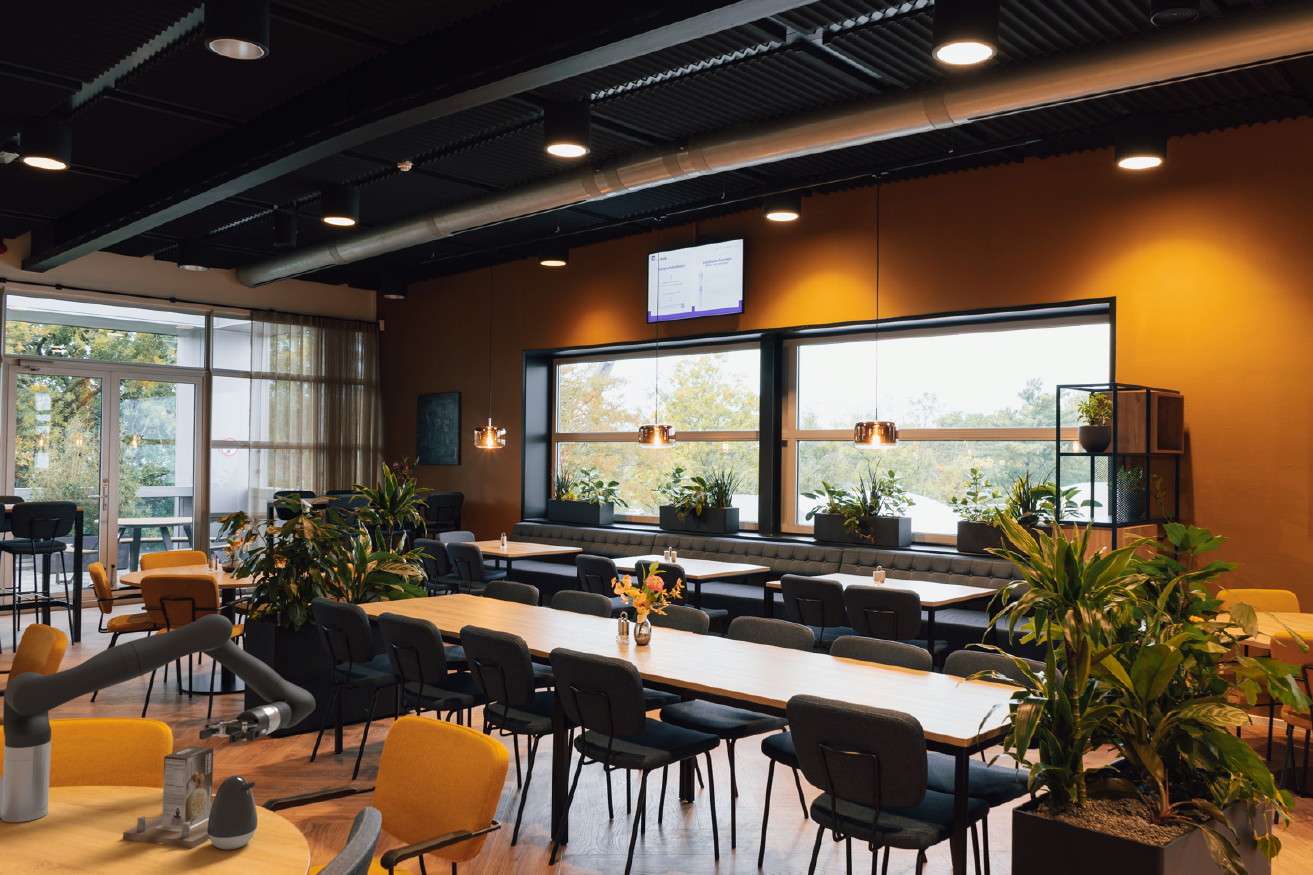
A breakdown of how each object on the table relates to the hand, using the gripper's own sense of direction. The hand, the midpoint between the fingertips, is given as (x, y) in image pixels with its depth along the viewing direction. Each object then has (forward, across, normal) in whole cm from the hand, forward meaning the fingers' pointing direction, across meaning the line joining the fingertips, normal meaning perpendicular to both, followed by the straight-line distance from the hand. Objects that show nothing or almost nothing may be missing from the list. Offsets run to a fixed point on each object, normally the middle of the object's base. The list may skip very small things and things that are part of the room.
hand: (215, 737), depth 235 cm
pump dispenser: (+17, +19, +18) cm, 31 cm away
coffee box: (+12, +3, +16) cm, 20 cm away
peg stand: (+12, +3, +18) cm, 22 cm away
